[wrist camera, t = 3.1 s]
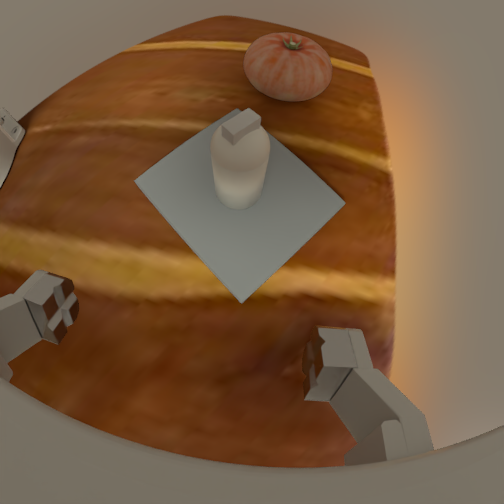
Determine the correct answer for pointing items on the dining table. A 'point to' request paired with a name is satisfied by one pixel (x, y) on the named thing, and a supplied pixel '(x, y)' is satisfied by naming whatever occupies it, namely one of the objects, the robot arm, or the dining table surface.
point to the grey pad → (239, 211)
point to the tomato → (287, 67)
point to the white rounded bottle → (240, 160)
